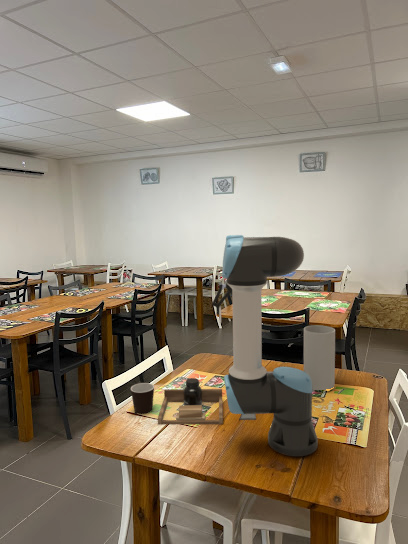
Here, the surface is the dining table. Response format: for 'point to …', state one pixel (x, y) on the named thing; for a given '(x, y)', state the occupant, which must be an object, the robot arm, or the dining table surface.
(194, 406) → the offcut upper
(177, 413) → the offcut lower
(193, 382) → the supplement bottle
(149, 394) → the coffee mug
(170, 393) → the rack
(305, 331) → the cylinder vase
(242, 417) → the mat
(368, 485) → the dining table surface
